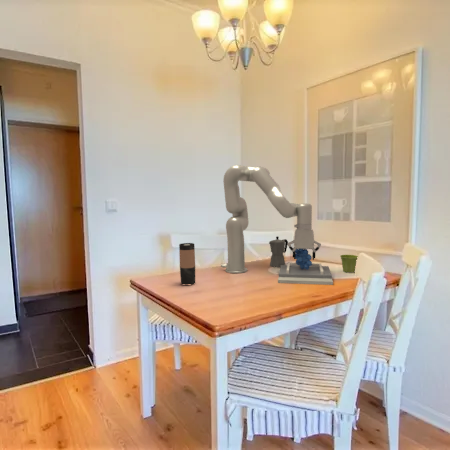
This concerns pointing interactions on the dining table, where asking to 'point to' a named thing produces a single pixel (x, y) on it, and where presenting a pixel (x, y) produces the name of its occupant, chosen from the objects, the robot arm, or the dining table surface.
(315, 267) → the dock
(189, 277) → the travel mug
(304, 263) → the grapes
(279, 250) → the coffeepot
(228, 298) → the dining table surface
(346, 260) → the plant pot
